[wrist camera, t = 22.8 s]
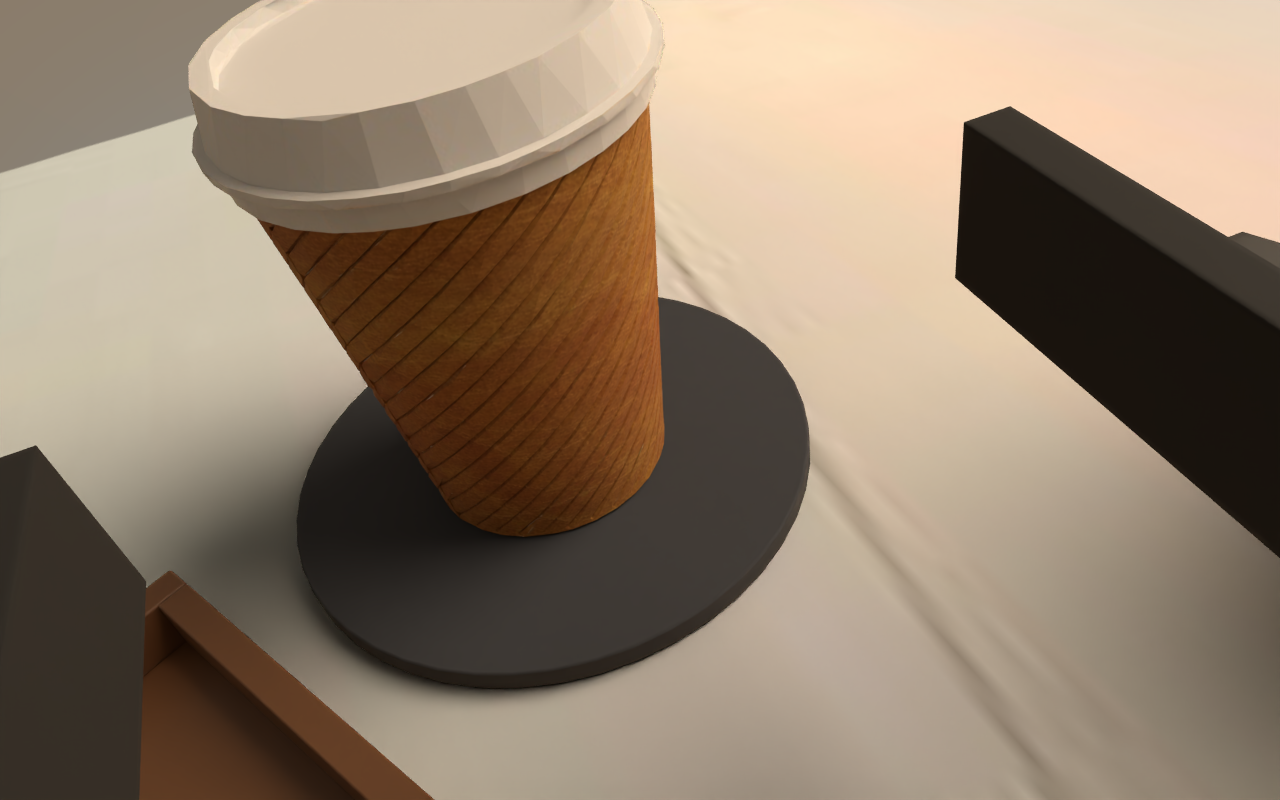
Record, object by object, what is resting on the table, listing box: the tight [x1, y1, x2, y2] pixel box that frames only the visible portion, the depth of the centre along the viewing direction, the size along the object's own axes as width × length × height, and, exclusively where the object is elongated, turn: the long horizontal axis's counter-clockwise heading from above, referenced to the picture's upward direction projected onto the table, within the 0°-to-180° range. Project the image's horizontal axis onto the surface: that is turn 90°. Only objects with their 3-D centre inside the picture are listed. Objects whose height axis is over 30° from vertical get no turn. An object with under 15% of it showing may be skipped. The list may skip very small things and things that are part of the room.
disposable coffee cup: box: [189, 0, 665, 537], centre depth 23 cm, size 10×10×12 cm
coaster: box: [297, 297, 810, 688], centre depth 27 cm, size 14×14×1 cm
